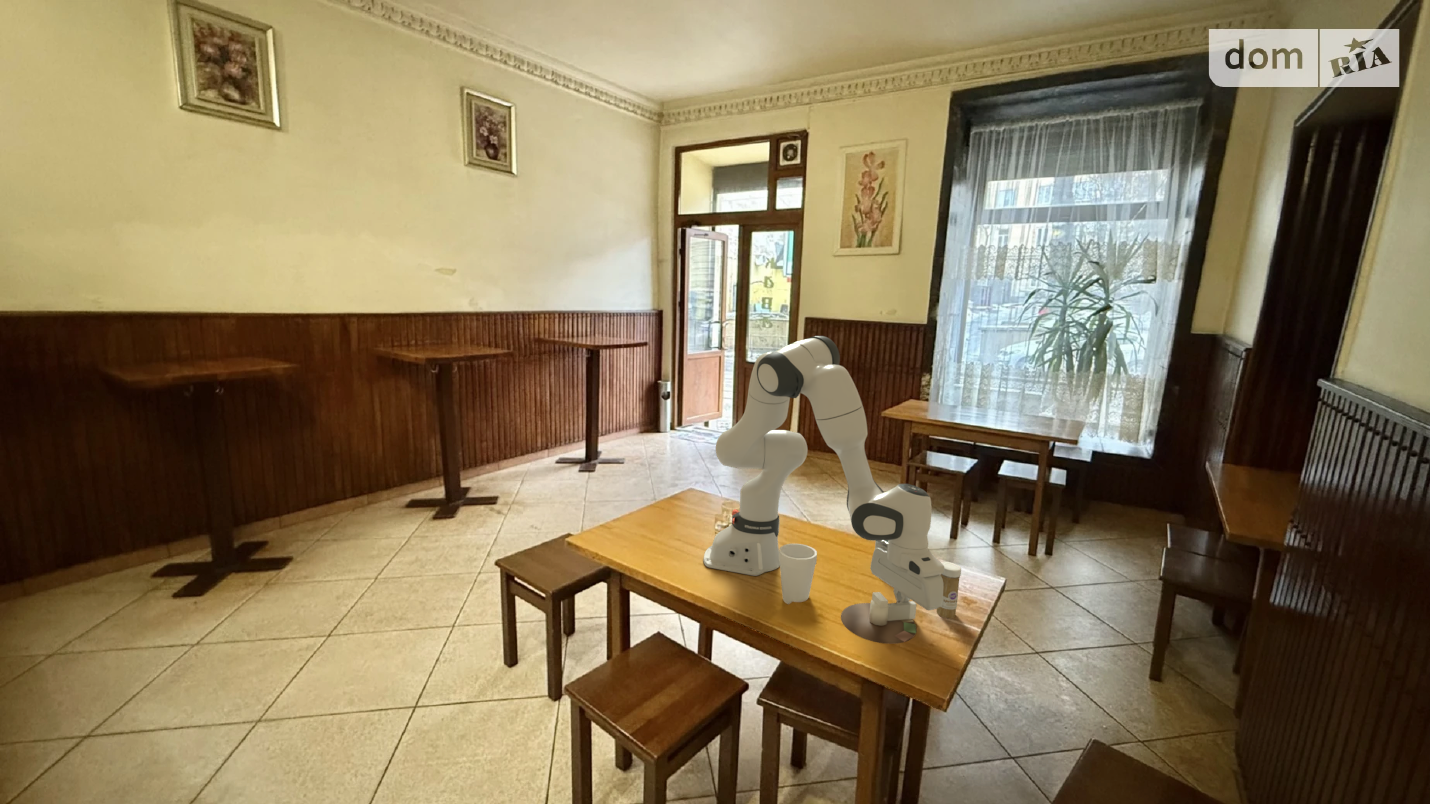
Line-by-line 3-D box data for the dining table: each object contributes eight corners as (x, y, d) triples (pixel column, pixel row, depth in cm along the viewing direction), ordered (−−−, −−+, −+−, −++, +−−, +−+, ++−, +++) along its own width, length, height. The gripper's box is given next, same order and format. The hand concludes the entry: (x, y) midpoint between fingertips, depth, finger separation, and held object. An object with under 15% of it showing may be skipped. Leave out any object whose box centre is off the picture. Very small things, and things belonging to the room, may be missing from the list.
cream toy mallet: (874, 626, 128) (876, 601, 127) (866, 616, 132) (868, 592, 131) (918, 622, 130) (920, 598, 129) (909, 613, 134) (911, 589, 133)
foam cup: (813, 611, 137) (816, 561, 134) (775, 607, 138) (778, 557, 136) (813, 592, 146) (816, 545, 144) (778, 588, 147) (780, 541, 145)
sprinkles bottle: (945, 624, 132) (951, 571, 130) (931, 615, 137) (936, 563, 134) (959, 620, 134) (965, 568, 132) (945, 611, 138) (950, 560, 136)
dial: (843, 644, 123) (844, 638, 123) (837, 604, 140) (837, 599, 140) (923, 652, 121) (924, 646, 121) (907, 611, 138) (908, 606, 138)
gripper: (867, 538, 139) (862, 590, 141) (929, 574, 121) (922, 633, 123) (887, 534, 142) (882, 585, 144) (950, 570, 123) (943, 627, 125)
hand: (901, 608), depth 133 cm, fingers closed
